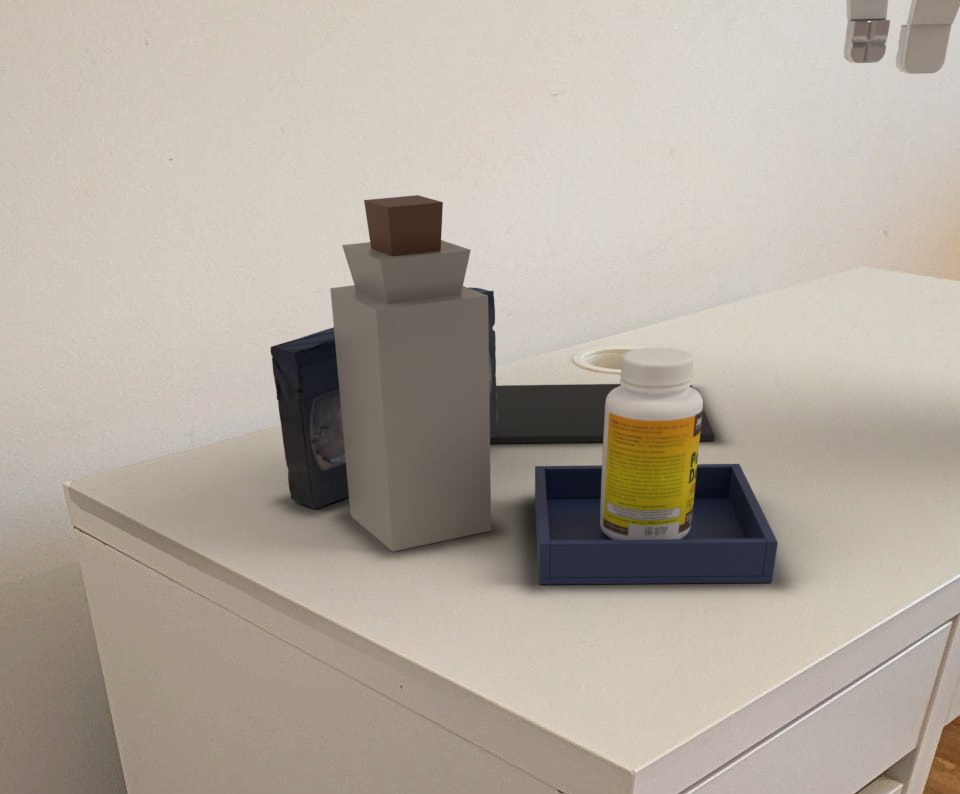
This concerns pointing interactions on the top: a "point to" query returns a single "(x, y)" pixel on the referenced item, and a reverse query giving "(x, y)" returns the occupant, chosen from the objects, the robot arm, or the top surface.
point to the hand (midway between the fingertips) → (888, 67)
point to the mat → (557, 414)
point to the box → (693, 559)
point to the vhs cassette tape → (328, 413)
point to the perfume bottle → (413, 380)
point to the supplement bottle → (650, 447)
